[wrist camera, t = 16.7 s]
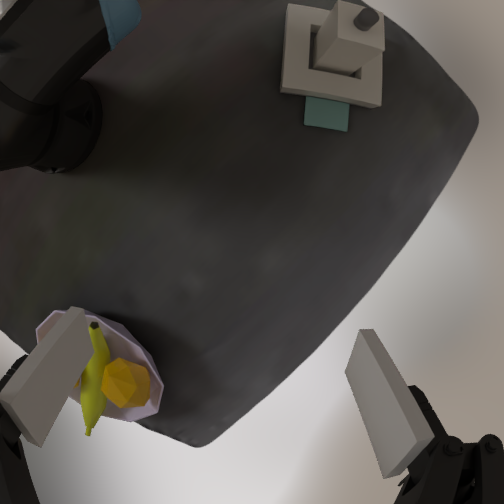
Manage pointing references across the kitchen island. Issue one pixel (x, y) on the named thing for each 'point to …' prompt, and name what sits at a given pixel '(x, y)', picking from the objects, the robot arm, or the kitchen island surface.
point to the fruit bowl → (113, 373)
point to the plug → (348, 39)
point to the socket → (323, 74)
